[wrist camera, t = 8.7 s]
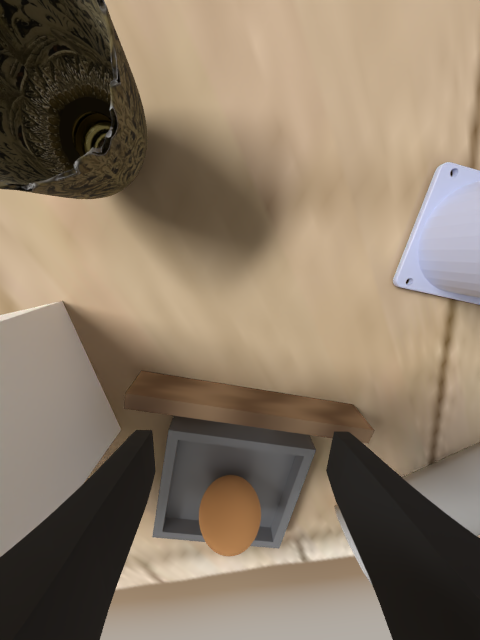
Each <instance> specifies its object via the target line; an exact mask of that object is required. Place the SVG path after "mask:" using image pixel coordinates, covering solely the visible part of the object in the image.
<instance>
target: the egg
mask: <svg viewBox="0 0 480 640" xmlns="http://www.w3.org/2000/svg"><path fill="white" fill-rule="evenodd" d="M260 521H261V507H260V502H259V499H258V496H257V494H256V492H255V490H254V488H253V487H252V486H251V484H250V483H249V482H248V481H246V480H245V479H243V478H242V477H239V476H236V475H225V476H222V477H220V478H218V479H216V480H215V481H214V482H212V483H211V485H210V486H209V487H208V488H207V490H206V491H205V493H204V495H203V497H202V500H201V503H200V508H199V525H200V530H201V533H202V536H203V538H204V540H205V542H206V543H207V544H208V546H209V547H210V548H211V549H212V550H213V551H215V552H216V553H218V554H220V555H223V556H235V555H238V554H240V553H242V552H244V551H245V550H246V549H247V548H248V547H249V546H250V545H251V544H252V543H253V541H254V540H255V538H256V535H257V533H258V530H259V527H260Z"/></svg>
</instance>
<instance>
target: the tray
mask: <svg viewBox="0 0 480 640" xmlns="http://www.w3.org/2000/svg"><path fill="white" fill-rule="evenodd" d="M315 451H316V449H315V447H314V444H313V442H312V440H311V438H310V435H306V434H299V433H292V432H285V431H278V430H271V429H264V428H257V427H250V426H243V425H236V424H229V423H222V422H215V421H208V420H201V419H194V418H187V417H180V416H173V419H172V422H171V425H170V428H169V431H168V438H167V444H166V451H165V457H164V464H163V471H162V477H161V484H160V490H159V497H158V504H157V510H156V517H155V523H154V530H153V537H156V538H167V539H178V540H190V541H201V542H205V540H204V538H203V536H202V533H201V530H200V525H199V508H200V503H201V500H202V497H203V495H204V493H205V491H206V490H207V488H208V487H209V486H210V485H211V483H212V482H214V481H215V480H216V479H218V478H220V477H222V476H225V475H236V476H239V477H242V478H243V479H245V480H246V481H248V482H249V483H250V484H251V486H252V487H253V488H254V490H255V492H256V494H257V496H258V499H259V502H260V507H261V521H260V527H259V530H258V533H257V535H256V538H255V540H254V541H253V543H252V544H251V545H250V546H257V547H269V548H279V547H280V545H281V542H282V539H283V537H284V534H285V531H286V529H287V526H288V523H289V521H290V518H291V515H292V513H293V510H294V507H295V505H296V502H297V499H298V497H299V494H300V491H301V489H302V486H303V483H304V481H305V478H306V475H307V473H308V470H309V467H310V465H311V462H312V459H313V457H314V454H315Z"/></svg>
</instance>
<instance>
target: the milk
mask: <svg viewBox="0 0 480 640" xmlns="http://www.w3.org/2000/svg"><path fill="white" fill-rule="evenodd" d="M120 431H121V428H120V426H119V424H118V422H117V419H116V417H115V415H114V413H113V411H112V408H111V406H110V404H109V402H108V400H107V398H106V395H105V393H104V391H103V389H102V387H101V384H100V382H99V380H98V378H97V376H96V374H95V371H94V369H93V367H92V365H91V363H90V360H89V358H88V356H87V354H86V352H85V349H84V347H83V345H82V343H81V341H80V339H79V336H78V334H77V332H76V330H75V328H74V325H73V323H72V321H71V319H70V317H69V315H68V312H67V310H66V308H65V306H64V304H63V301H60V302H55V303H51V304H47V305H42V306H38V307H34V308H29V309H25V310H21V311H16V312H12V313H8V314H3V315H0V557H1V556H2V555H3V554H5V553H6V552H7V551H8V550H10V549H11V548H12V547H13V546H14V545H16V544H17V543H18V542H19V541H20V540H22V539H23V538H24V537H25V536H26V535H27V534H29V533H30V532H31V531H32V530H33V529H34V528H36V527H37V526H38V525H39V524H40V523H41V522H42V521H44V520H45V519H46V518H47V517H48V516H49V515H50V514H51V513H53V512H54V511H55V510H56V509H57V508H58V507H59V506H60V505H61V504H62V503H63V502H64V501H66V500H67V499H68V498H69V497H70V496H71V495H72V494H73V493H74V492H75V491H76V490H77V489H78V488H79V487H81V486H82V485H83V483H84V482H85V481H86V479H87V478H88V476H89V475H90V473H91V472H92V471H93V469H94V468H95V466H96V465H97V464H98V462H99V461H100V459H101V458H102V456H103V455H104V454H105V452H106V451H107V449H108V448H109V446H110V445H111V444H112V442H113V441H114V439H115V438H116V437H117V435H118V434H119V432H120Z"/></svg>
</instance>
